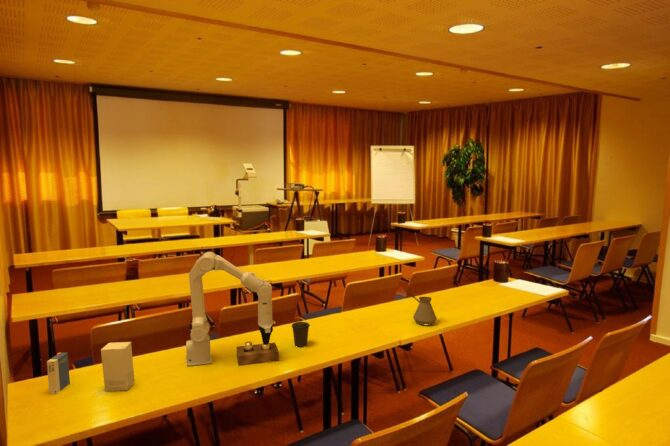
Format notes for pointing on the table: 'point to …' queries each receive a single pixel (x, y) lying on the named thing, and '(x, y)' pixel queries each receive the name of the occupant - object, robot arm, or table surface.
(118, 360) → the skincare box
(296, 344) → the coffee cup
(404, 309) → the table surface
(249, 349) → the peg left
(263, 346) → the peg right
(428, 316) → the coffee pot
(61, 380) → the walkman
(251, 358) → the socket block
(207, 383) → the table surface
